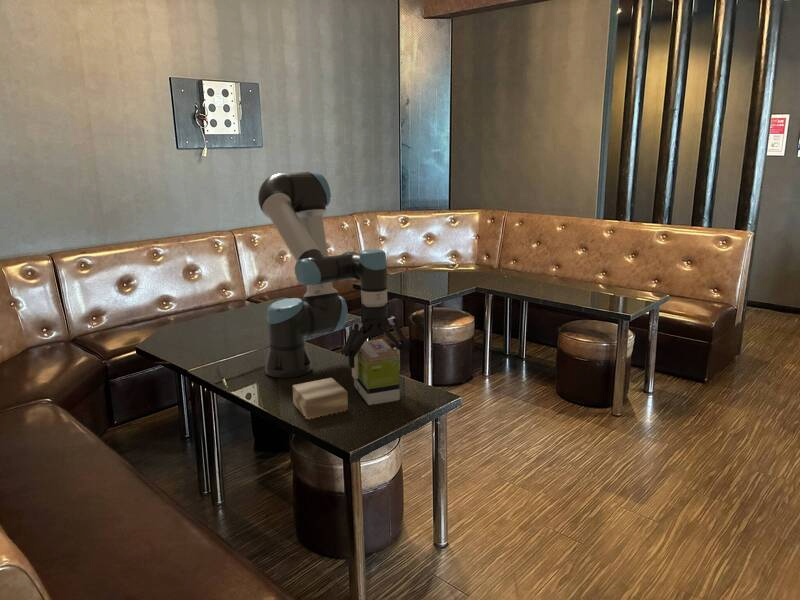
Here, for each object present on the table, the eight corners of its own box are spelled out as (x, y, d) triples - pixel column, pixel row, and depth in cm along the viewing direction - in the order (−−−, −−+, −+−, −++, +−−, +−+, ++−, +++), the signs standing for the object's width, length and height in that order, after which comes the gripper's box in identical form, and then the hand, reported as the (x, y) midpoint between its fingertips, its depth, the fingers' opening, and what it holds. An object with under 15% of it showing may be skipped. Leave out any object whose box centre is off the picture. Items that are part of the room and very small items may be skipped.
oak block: (293, 404, 174) (292, 385, 172) (332, 396, 179) (331, 377, 177) (307, 420, 163) (306, 400, 162) (348, 411, 169) (347, 391, 167)
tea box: (352, 387, 185) (351, 341, 181) (383, 382, 188) (383, 337, 185) (367, 406, 171) (366, 357, 168) (400, 400, 175) (400, 352, 171)
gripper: (338, 312, 164) (341, 385, 169) (418, 301, 175) (419, 369, 180) (328, 306, 171) (332, 377, 176) (406, 296, 182) (407, 362, 187)
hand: (376, 373), depth 178 cm, fingers open, 13 cm apart
